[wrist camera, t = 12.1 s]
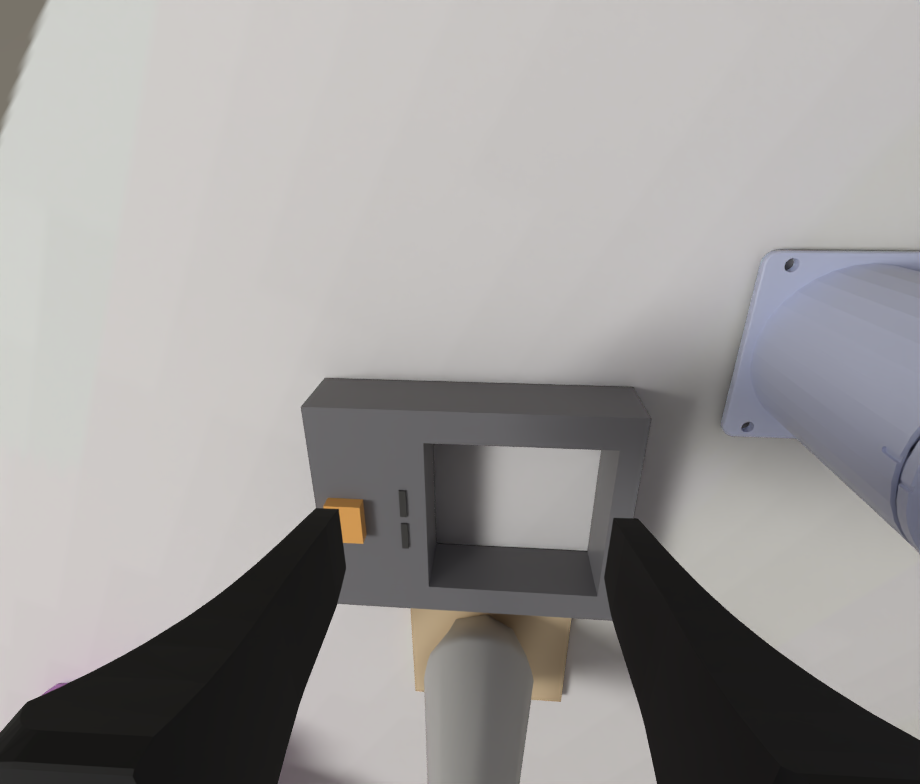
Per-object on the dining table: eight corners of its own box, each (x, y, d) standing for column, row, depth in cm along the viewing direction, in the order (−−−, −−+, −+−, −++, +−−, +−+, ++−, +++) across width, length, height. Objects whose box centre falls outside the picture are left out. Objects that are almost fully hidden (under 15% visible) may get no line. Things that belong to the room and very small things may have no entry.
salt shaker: (417, 610, 28) (356, 933, 16) (516, 595, 27) (527, 928, 15) (448, 678, 30) (414, 1005, 19) (540, 666, 29) (566, 1005, 17)
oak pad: (573, 586, 27) (574, 593, 27) (559, 693, 31) (560, 701, 30) (410, 577, 28) (409, 583, 27) (416, 683, 31) (415, 691, 31)
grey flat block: (632, 387, 22) (655, 425, 19) (603, 574, 27) (617, 631, 23) (324, 378, 23) (295, 413, 20) (347, 560, 28) (327, 612, 24)
